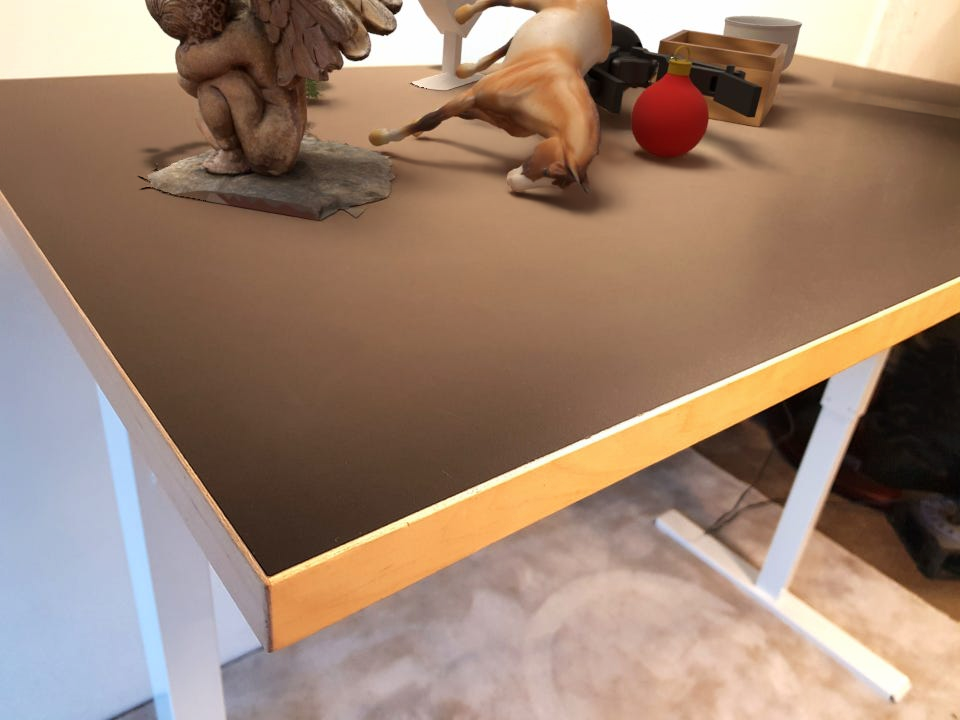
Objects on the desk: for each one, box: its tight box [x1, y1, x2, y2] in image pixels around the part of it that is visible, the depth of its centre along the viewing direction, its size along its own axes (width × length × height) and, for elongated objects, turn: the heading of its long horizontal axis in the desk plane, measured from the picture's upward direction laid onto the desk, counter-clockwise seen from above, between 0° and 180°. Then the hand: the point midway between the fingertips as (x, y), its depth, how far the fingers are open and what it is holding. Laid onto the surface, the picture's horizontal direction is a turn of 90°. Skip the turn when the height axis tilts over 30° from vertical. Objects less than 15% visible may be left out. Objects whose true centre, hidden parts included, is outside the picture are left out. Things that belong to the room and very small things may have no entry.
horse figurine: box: [368, 0, 612, 195], centre depth 70 cm, size 31×8×21 cm
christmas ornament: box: [630, 46, 710, 159], centre depth 73 cm, size 7×7×10 cm
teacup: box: [722, 15, 803, 73], centre depth 119 cm, size 14×11×8 cm
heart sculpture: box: [411, 0, 486, 91], centre depth 94 cm, size 16×5×18 cm, turn 153°
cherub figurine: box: [144, 0, 404, 222], centre depth 58 cm, size 18×18×18 cm
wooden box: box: [651, 29, 788, 128], centre depth 95 cm, size 13×13×8 cm
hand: (688, 100), depth 70 cm, fingers open, 13 cm apart
